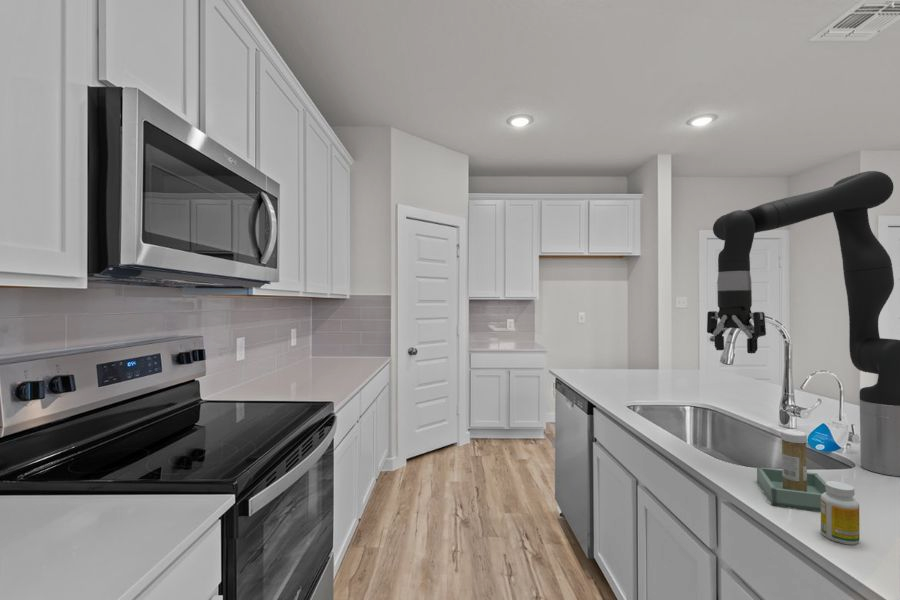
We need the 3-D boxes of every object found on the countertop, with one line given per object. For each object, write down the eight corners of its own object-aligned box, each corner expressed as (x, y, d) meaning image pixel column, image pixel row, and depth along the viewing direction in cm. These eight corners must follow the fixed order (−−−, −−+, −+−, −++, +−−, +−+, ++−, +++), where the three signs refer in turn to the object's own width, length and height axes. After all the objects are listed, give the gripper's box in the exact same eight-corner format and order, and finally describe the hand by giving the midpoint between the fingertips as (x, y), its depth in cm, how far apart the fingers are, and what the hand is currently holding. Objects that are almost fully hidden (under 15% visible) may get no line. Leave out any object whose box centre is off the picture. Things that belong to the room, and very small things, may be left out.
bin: (757, 481, 108) (756, 466, 108) (817, 488, 104) (817, 473, 104) (772, 505, 96) (771, 488, 96) (841, 514, 91) (841, 497, 91)
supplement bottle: (813, 532, 84) (812, 481, 84) (835, 528, 86) (834, 477, 86) (845, 547, 79) (844, 492, 79) (867, 543, 80) (866, 489, 81)
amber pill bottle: (813, 496, 98) (812, 434, 98) (794, 497, 97) (793, 435, 97) (794, 487, 102) (793, 428, 102) (776, 489, 102) (775, 429, 102)
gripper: (772, 288, 112) (773, 353, 112) (719, 290, 125) (719, 348, 125) (751, 288, 109) (752, 355, 109) (699, 290, 123) (700, 349, 123)
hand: (735, 351), depth 117 cm, fingers open, 8 cm apart
